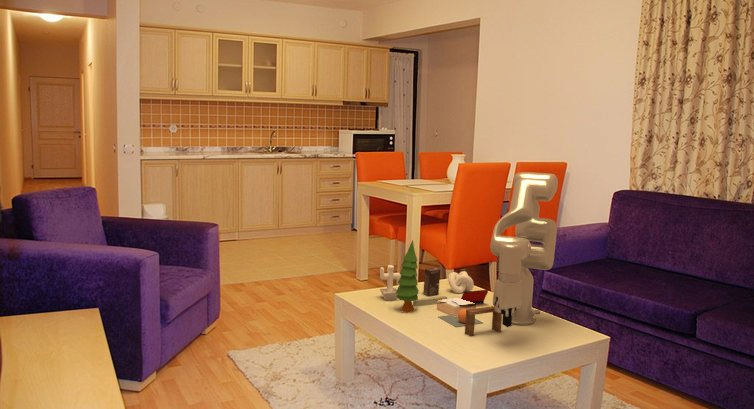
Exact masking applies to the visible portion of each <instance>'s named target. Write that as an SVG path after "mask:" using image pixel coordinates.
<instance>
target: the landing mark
mask: <svg viewBox="0 0 754 409" xmlns="http://www.w3.org/2000/svg"><path fill="white" fill-rule="evenodd" d="M451 315H452V314H448V315H440V316H437V318H439V319H440V320H442V321H444V322H445V323H448V324H449V325H450V326H452V327H455V328H460V327H465V323H462V322H461V321H460V320H459V319H458V317H457V316H456V317H454V316H451ZM481 324H484V322H483V321H481V320H480V319H477V318H475V325H481Z"/></svg>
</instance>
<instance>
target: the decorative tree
mask: <svg viewBox="0 0 754 409" xmlns="http://www.w3.org/2000/svg"><path fill="white" fill-rule="evenodd" d="M417 262H418V258H417V254H416V251H415V246H414V240H413V239H412V240H411V243H410V245H409V247H408V249H407V251H406V254H405V256H404V257H403V261H402V263H401V265H400V266H401V270H400V272H399V273H400V275H401V277H400V279H399V281H398V284H400V285H398V287H397V288H396V289H397V291H396V293H398V295H397V299H398V300H399V301H404V302H403V304H402V307H401V308H400V311H401V312H404V313H413V312H414V311H415V306H413V301H415V300H418V299H419V296H418V295H419V288H418V279H417V277H418V273H417V269H418V263H417Z"/></svg>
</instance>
